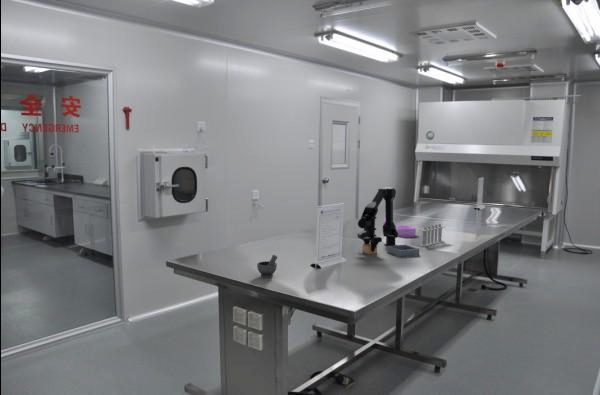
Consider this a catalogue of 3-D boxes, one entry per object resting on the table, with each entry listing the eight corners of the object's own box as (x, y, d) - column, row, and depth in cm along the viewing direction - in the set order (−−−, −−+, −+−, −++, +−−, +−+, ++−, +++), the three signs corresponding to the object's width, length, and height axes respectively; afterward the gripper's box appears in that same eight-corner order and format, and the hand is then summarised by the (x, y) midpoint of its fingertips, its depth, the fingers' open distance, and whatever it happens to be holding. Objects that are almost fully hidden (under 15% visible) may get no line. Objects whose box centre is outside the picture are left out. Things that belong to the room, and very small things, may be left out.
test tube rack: (424, 247, 309) (425, 227, 308) (419, 246, 312) (419, 226, 311) (444, 242, 326) (445, 223, 324) (439, 241, 329) (439, 223, 328)
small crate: (362, 252, 293) (362, 244, 292) (371, 251, 295) (371, 243, 295) (367, 254, 287) (368, 246, 286) (376, 253, 289) (377, 245, 289)
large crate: (387, 252, 293) (387, 246, 292) (405, 250, 298) (405, 244, 297) (400, 257, 280) (400, 250, 279) (419, 255, 285) (419, 249, 285)
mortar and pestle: (253, 277, 235) (253, 254, 233) (265, 273, 242) (265, 250, 241) (270, 281, 228) (270, 257, 227) (282, 276, 236) (282, 253, 235)
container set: (417, 234, 353) (418, 217, 351) (412, 238, 339) (412, 220, 338) (386, 231, 365) (386, 215, 363) (379, 234, 352) (380, 217, 350)
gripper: (351, 224, 295) (351, 248, 296) (366, 229, 278) (366, 255, 279) (366, 223, 299) (366, 247, 301) (382, 228, 282) (381, 253, 284)
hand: (369, 250), depth 291 cm, fingers closed on small crate, 6 cm apart
